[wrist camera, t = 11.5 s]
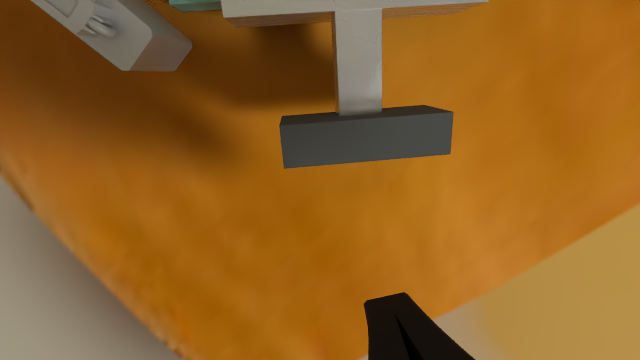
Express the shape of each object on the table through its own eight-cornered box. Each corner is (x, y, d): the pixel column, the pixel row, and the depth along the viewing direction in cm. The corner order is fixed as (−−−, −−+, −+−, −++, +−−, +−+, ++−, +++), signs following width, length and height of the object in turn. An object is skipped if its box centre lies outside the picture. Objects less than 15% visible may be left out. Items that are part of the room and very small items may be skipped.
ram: (457, -42, 12) (518, -86, 9) (445, 133, 15) (490, 150, 11) (227, -31, 12) (202, -71, 8) (253, 149, 14) (241, 172, 11)
